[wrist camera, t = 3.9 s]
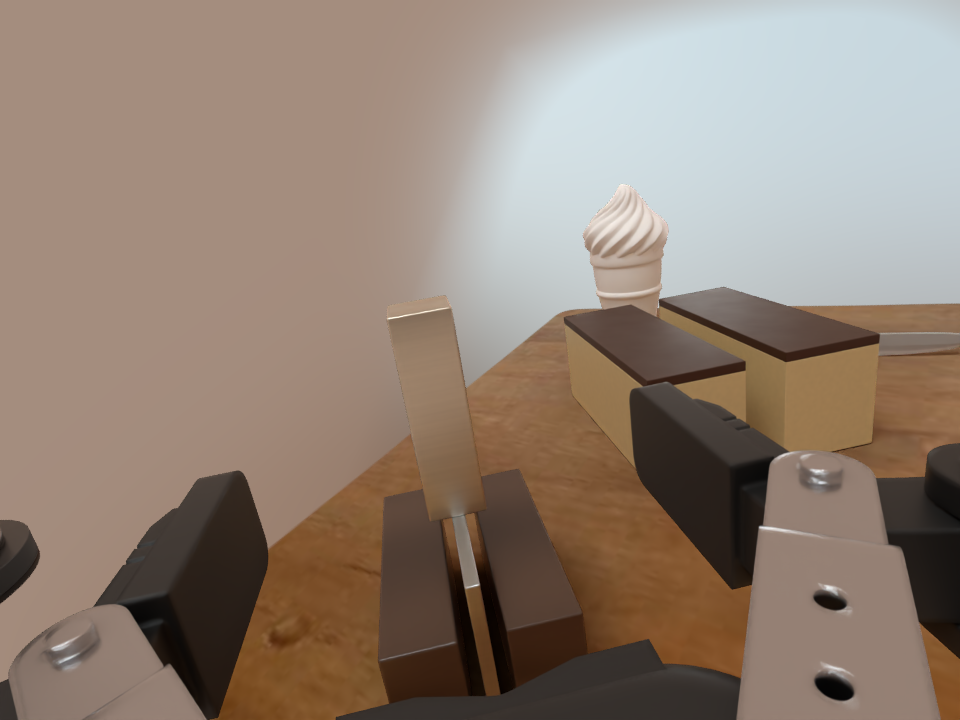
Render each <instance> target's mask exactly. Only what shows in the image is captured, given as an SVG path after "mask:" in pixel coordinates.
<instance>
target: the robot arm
mask: <svg viewBox="0 0 960 720" xmlns="http://www.w3.org/2000/svg"><path fill="white" fill-rule="evenodd" d="M629 405H630V418H631V431H632V445H633V457H634V463H635V467H636V470H637V473H638V476H639V478H640V480H641V482H642V483H643V485H644V486H645V487H646V489H647V490H648V491H649V492H650V493H651V494H652V496H653V497H654V498H655V499H656V500H657V502H658V503H659V504H660V505H661V506H662V507H663V509H664V510H665V511H666V512H667V513H668V515H669V516H670V517H671V518H672V519H673V520H674V522H675V523H676V524H677V525H678V526H679V528H680V529H681V530H682V531H683V532H684V534H685V535H686V536H687V537H688V538H689V539H690V541H691V542H692V543H693V544H694V545H695V547H696V548H697V549H698V550H699V551H700V552H701V554H702V555H703V556H704V557H705V558H706V560H707V561H708V562H709V563H710V564H711V565H712V567H713V568H714V569H715V570H716V571H717V573H718V574H719V575H720V576H721V577H722V578H723V580H724V581H725V582H726V583H727V584H728V586H729V587H730V588H731V589H736V588H741V587H745V586H749V585H752V590H751V599H750V607H749V616H748V625H747V633H746V642H745V650H744V659H743V667H742V676H741V679H740V678H738V677H735V676H733V675H730V674H726V673H723V672H719V671H716V670H712V669H707V668H702V667H697V666H691V665H680V664H663V663H662V661H661V660H660V658H659V656H658V654H657V653H656V651H655V649H654V647H653V646H652V644H651V642H650V640H649V639H647V640H643V641H639V642H635V643H631V644H627V645H623V646H619V647H615V648H611V649H607V650H603V651H599V652H595V653H591V654H587V655H583V656H579V657H575V658H573V659H571V660H569V661H567V662H565V663H563V664H561V665H559V666H557V667H556V668H554V669H552V670H550V671H548V672H546V673H544V674H542V675H540V676H538V677H536V678H534V679H532V680H530V681H528V682H526V683H525V684H523V685H521V686H519V687H517V688H515V689H513V690H511V691H509V692H507V693H504V694H501V695H497V696H461V697H415V698H411V699H407V700H403V701H399V702H395V703H391V704H387V705H383V706H379V707H375V708H371V709H367V710H363V711H359V712H355V713H351V714H347V715H343V716H339V717H336V720H941V719H940V714H939V710H938V705H937V701H936V696H935V692H934V687H933V683H932V678H931V674H930V670H929V665H928V661H927V656H926V652H925V647H924V643H923V638H922V634H921V629H920V625H919V622H920V623H921V624H922V625H923V626H924V627H925V628H926V629H927V630H928V631H929V632H930V633H931V634H932V635H934V636H935V637H936V638H937V639H938V640H939V641H940V642H941V643H943V644H944V645H945V646H946V647H947V648H948V649H949V650H950V651H951V652H953V653H954V654H955V655H956V656H957V657H958V658H959V659H960V443H957V444H948V445H943V446H939V447H937V448H934V449H933V450H931V451H930V452H929V453H928V456H927V463H926V472H925V477H909V478H876V477H875V475H874V473H873V472H872V471H871V469H869V468H868V467H867V466H866V465H864V464H863V463H861V462H859V461H857V460H855V459H853V458H850V457H847V456H844V455H841V454H837V453H832V452H826V451H816V450H801V451H793V452H789V451H788V450H786V449H785V448H783V447H782V446H780V445H779V444H777V443H776V442H774V441H773V440H771V439H770V438H768V437H767V436H765V435H764V434H762V433H761V432H759V431H758V430H756V429H755V428H750V425H749V424H747V423H746V422H744V421H743V420H741V419H737V418H736V416H735V415H733V414H732V413H730V412H729V411H727V410H726V409H724V408H723V407H721V406H720V405H716V404H713V403H710V402H707V401H703V400H700V399H692V398H691V397H689V396H688V395H686V394H685V393H683V392H682V391H681V390H679V389H678V388H676V387H675V386H673V385H672V384H671V383H669V382H663V383H658V384H653V385H649V386H644V387H639V388H634V389H632V390H631V392H630V396H629ZM4 543H5V537H4V535H3V533H2V531H1V529H0V550H1V549H2V547H3V545H4ZM267 566H268V548H267V542H266V538H265V534H264V531H263V528H262V525H261V522H260V519H259V516H258V513H257V510H256V507H255V503H254V500H253V497H252V494H251V491H250V488H249V486H248V482H247V480H246V478H245V476H244V474H243V473H242V472H241V471H233V472H229V473H224V474H218V475H214V476H209V477H204V478H199V479H198V480H197V481H196V482H195V484H194V485H193V487H192V488H191V490H190V491H189V493H188V494H187V496H186V497H185V499H184V500H183V502H182V503H181V504H180V506H179V507H178V508H176V509H172V510H171V511H170V512H169V513H167V514H166V515H165V516H164V517H162V518H161V519H160V520H159V521H157V522H156V523H155V524H154V525H152V526H151V527H150V528H149V530H148V531H147V532H146V534H145V535H144V537H143V538H142V539H141V541H140V542H139V544H138V545H137V549H134V551H133V552H132V553H131V555H130V556H129V558H128V559H127V560H126V565H123V566H122V567H121V569H120V570H119V572H118V573H117V574H116V576H115V577H114V579H113V580H112V581H111V583H110V584H109V586H108V587H107V588H106V590H105V591H104V592H103V594H102V595H101V597H100V598H99V599H98V601H97V602H96V604H95V605H94V607H92V608H89V609H86V610H83V611H81V612H78V613H76V614H73V615H71V616H69V617H67V618H65V619H63V620H61V621H60V622H58V623H56V624H54V625H53V626H51V627H50V628H48V629H47V630H45V631H44V632H42V633H41V634H40V635H38V636H37V637H36V638H34V639H33V640H32V641H31V642H30V643H29V644H28V645H27V646H26V647H25V648H24V649H23V650H22V651H21V652H20V653H19V654H18V656H17V657H16V658H15V660H14V661H13V663H12V665H11V667H10V669H9V673H8V676H9V677H8V679H7V680H5V681H3V682H1V683H0V720H210V719H214V718H218V716H219V713H220V710H221V707H222V704H223V701H224V698H225V695H226V692H227V689H228V686H229V683H230V680H231V677H232V674H233V670H234V667H235V664H236V661H237V658H238V655H239V652H240V649H241V646H242V643H243V640H244V637H245V634H246V631H247V628H248V625H249V622H250V619H251V616H252V613H253V610H254V607H255V604H256V601H257V598H258V595H259V592H260V589H261V586H262V583H263V580H264V577H265V574H266V571H267Z"/></svg>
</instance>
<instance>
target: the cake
mask: <svg viewBox="0 0 960 720" xmlns="http://www.w3.org/2000/svg"><path fill="white" fill-rule="evenodd" d="M659 311H660V318H658V317H656V316H654V315H651V314H649V313H647V312H645V311H643V310H641V309H639V308H637V307H635V306H633V305H631V304H630V305H625V306H620V307H614V308H609V309H604V310H598V311H593V312H588V313H583V314H577V315H572V316H567V317H564V323H565V333H566V342H567V351H568V360H569V369H570V378H571V387H572V395H573V396H574V398H575V399H576V400H577V401H578V402H579V403H580V405H581V406H582V407H583V408H584V409H585V410H586V412H587V413H588V414H589V415H590V416H591V417H592V419H593V420H594V421H595V422H596V423H597V424H598V426H599V427H600V428H601V429H602V430H603V432H604V433H605V434H606V435H607V436H608V437H609V439H610V440H611V441H612V442H613V443H614V444H615V446H616V447H617V448H618V449H619V450H620V451H621V453H622V454H623V455H624V456H625V457H626V458H627V460H628V461H629V462H630V463H631V464H632V465H633V467H634V468H635V469H636V467H635V463H634V457H633V445H632V431H631V418H630V405H629V396H630V392H631V390H632V389H634V388H639V387H644V386H649V385H653V384H658V383H663V382H669V383H671V384H672V385H673V386H675V387H676V388H678V389H679V390H681V391H682V392H683V393H685V394H686V395H688V396H689V397H691V398H692V399H700V400H703V401H707V402H710V403H713V404H716V405H720V406H721V407H723V408H724V409H726V410H727V411H729V412H730V413H732V414H733V415H735V416H736V418H737V419H741V420H743V421H744V422H746V423H747V424H749V425H750V428H755V429H756V430H758V431H759V432H761V433H762V434H764V435H765V436H767V437H768V438H770V439H771V440H773V441H774V442H776V443H777V444H779V445H780V446H782V447H783V448H785V449H786V450H788V451H789V452H793V451H801V450H816V451H826V452H832V451H837V450H841V449H846V448H850V447H855V446H859V445H864V444H868V443H872V433H873V420H874V407H875V394H876V380H877V367H878V354H879V341H880V334H879V333H875V332H872V331H869V330H866V329H862V328H859V327H856V326H852V325H849V324H846V323H842V322H839V321H836V320H832V319H829V318H826V317H822V316H819V315H816V314H812V313H809V312H806V311H802V310H799V309H796V308H792V307H789V306H786V305H782V304H779V303H776V302H772V301H769V300H766V299H763V298H759V297H756V296H752V295H749V294H746V293H743V292H739V291H736V290H733V289H729V288H726V287H720V288H715V289H710V290H705V291H699V292H694V293H688V294H684V295H678V296H673V297H668V298H662V299H659Z"/></svg>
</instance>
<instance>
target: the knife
mask: <svg viewBox="0 0 960 720" xmlns="http://www.w3.org/2000/svg"><path fill="white" fill-rule="evenodd" d="M879 334H880V341H879V354H878V356H882V355H902V354H915V353H927V352H936V351H942V350H949V349H955V348H958V347H960V333H945V332H910V333H879Z"/></svg>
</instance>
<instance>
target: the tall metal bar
mask: <svg viewBox="0 0 960 720" xmlns="http://www.w3.org/2000/svg"><path fill="white" fill-rule="evenodd" d="M387 324H388V328H389V333H390V338H391V342H392V347H393V352H394V356H395V361H396V366H397V371H398V375H399V379H400V384H401V389H402V394H403V399H404V403H405V407H406V413H407V417H408V422H409V426H410V431H411V436H412V441H413V445H414V450H415V455H416V459H417V464H418V469H419V473H420V478H421V483H422V487H423V492H424V497H425V501H426V506H427V511H428V516H429V520H430V522H434V521H438V520H443V519H447V518H452V520H453V525H454V531H455V537H456V543H457V549H458V554H459V560H460V566H461V572H462V577H463V583H464V589H465V594H466V599H467V604H468V609H469V614H470V619H471V624H472V629H473V634H474V639H475V644H476V649H477V654H478V659H479V664H480V669H481V674H482V679H483V684H484V689H485V694H486V696H497V695H501V693H500V688H499V683H498V677H497V672H496V667H495V661H494V656H493V651H492V646H491V640H490V635H489V630H488V624H487V619H486V614H485V608H484V603H483V598H482V592H481V587H480V582H479V578H478V573H477V568H476V564H475V559H474V554H473V550H472V545H471V540H470V536H469V531H468V526H467V522H466V517H465V515H466V514H470V513H475V512H479V511H484V510H486V509H487V507H486V502H485V496H484V490H483V484H482V479H481V473H480V467H479V462H478V456H477V450H476V444H475V439H474V433H473V427H472V421H471V416H470V410H469V404H468V399H467V393H466V387H465V381H464V376H463V370H462V365H461V358H460V353H459V347H458V342H457V336H456V330H455V324H454V319H453V313H452V308H451V306H450V303H449V301H448V299H447V297H446V296H445V295H443V296H438V297H432V298H427V299H421V300H416V301H410V302H405V303H399V304H394V305H389V306H388V307H387Z"/></svg>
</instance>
